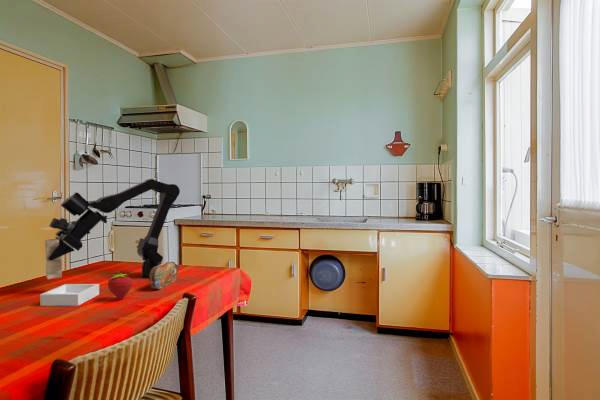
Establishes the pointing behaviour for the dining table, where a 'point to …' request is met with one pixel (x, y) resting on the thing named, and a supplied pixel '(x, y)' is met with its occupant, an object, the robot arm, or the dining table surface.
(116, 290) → the strawberry
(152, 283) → the tin
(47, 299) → the box
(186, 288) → the dining table surface
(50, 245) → the birch block
